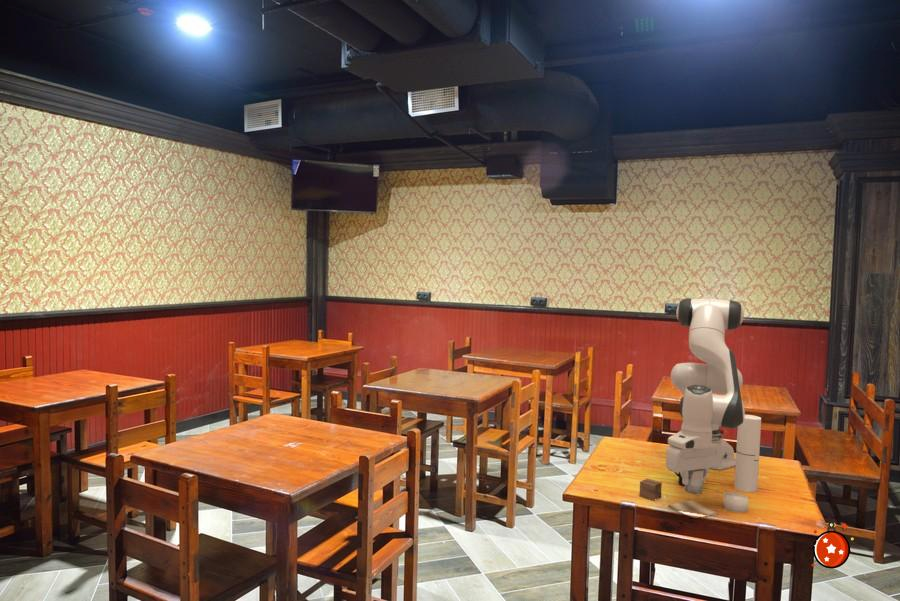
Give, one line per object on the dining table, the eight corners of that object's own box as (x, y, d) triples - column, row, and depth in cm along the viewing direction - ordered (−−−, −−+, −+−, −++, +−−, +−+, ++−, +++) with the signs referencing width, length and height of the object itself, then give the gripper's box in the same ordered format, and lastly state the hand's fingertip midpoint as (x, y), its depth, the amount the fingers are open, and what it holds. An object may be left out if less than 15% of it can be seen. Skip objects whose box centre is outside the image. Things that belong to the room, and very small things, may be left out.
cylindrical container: (730, 484, 213) (734, 414, 212) (751, 485, 213) (755, 414, 212) (739, 491, 206) (743, 419, 205) (761, 492, 206) (765, 419, 205)
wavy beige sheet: (691, 503, 194) (692, 500, 194) (717, 514, 185) (717, 512, 185) (668, 507, 190) (668, 504, 190) (692, 519, 181) (692, 516, 181)
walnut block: (646, 493, 202) (647, 478, 202) (661, 497, 198) (661, 482, 198) (639, 496, 198) (640, 481, 198) (653, 501, 195) (654, 485, 195)
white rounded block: (733, 503, 195) (734, 491, 195) (752, 511, 189) (753, 498, 189) (718, 506, 192) (718, 493, 192) (736, 514, 186) (737, 501, 186)
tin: (693, 487, 190) (694, 465, 190) (705, 493, 186) (707, 470, 185) (681, 489, 188) (682, 467, 188) (693, 495, 184) (694, 472, 183)
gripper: (712, 433, 193) (710, 476, 194) (663, 438, 185) (661, 483, 186) (729, 438, 188) (726, 482, 188) (679, 444, 179) (676, 490, 180)
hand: (693, 483), depth 187 cm, fingers closed on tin, 5 cm apart
